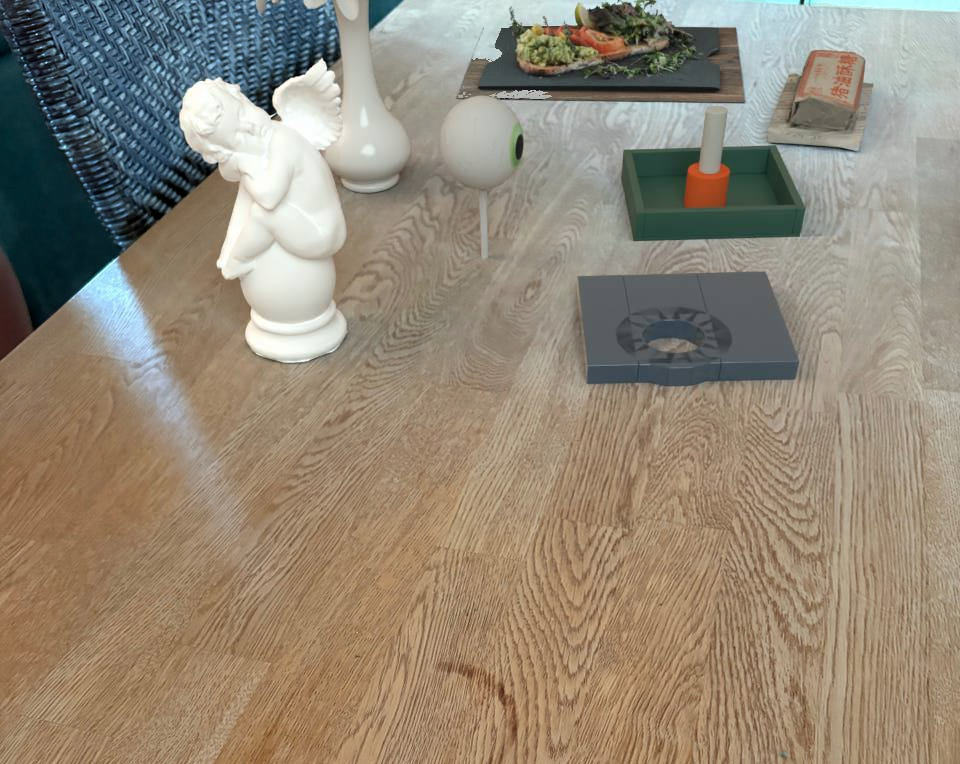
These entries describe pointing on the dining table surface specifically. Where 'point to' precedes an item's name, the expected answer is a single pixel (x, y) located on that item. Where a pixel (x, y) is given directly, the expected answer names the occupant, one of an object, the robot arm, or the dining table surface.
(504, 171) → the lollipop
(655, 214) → the green tray
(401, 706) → the dining table surface
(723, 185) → the stopper
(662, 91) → the plated dish
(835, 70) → the packaged product
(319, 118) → the cherub figurine
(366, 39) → the flower vase
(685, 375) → the plate
